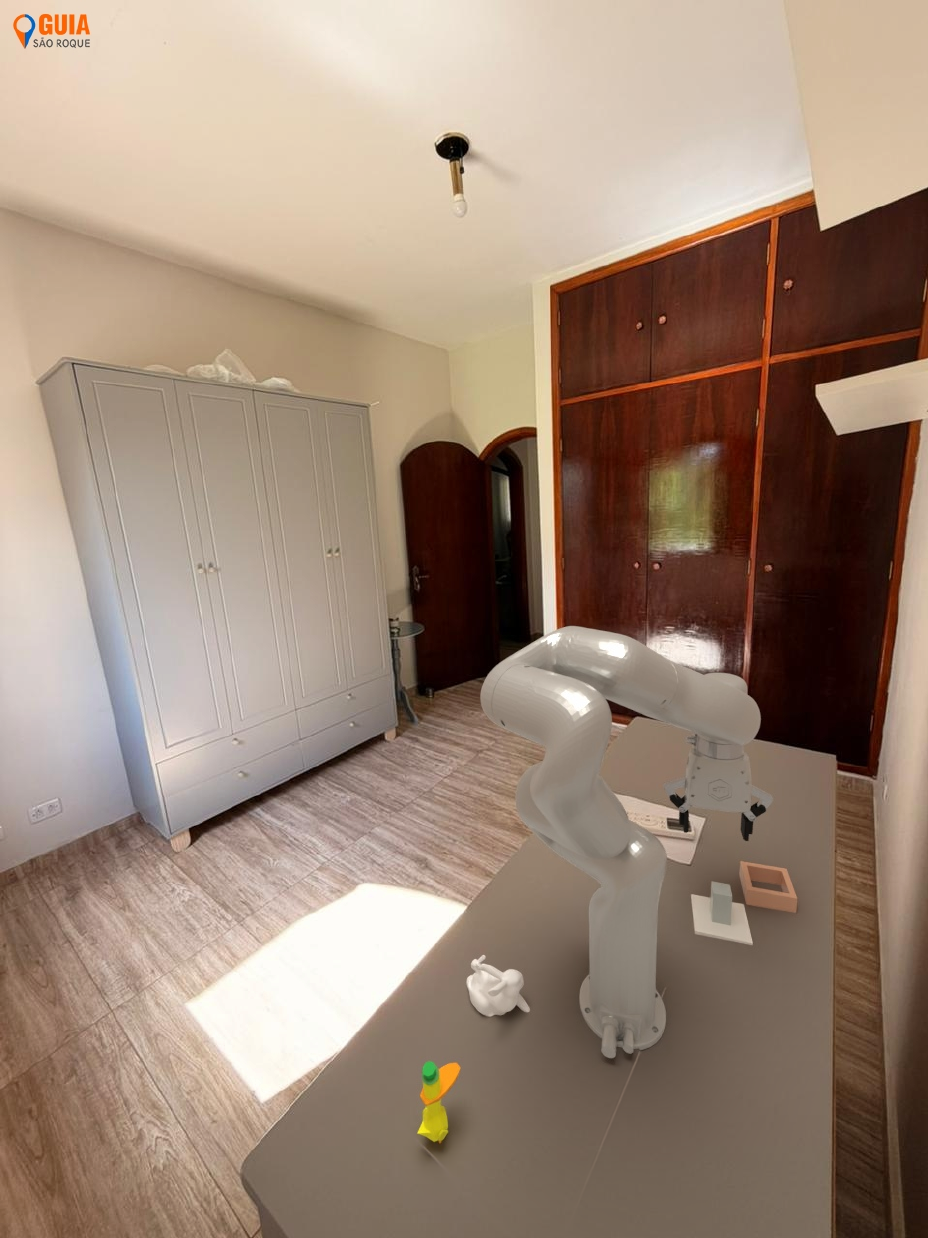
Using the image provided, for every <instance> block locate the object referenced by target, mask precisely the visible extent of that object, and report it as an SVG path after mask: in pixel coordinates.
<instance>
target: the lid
mask: <svg viewBox="0 0 928 1238" xmlns="http://www.w3.org/2000/svg"><path fill="white" fill-rule="evenodd" d="M731 888H732V887H731V884H729V883H723V882H717V881H711V884H710V896H709V897H708V896H704V895H698V894H691V893H690V900H691V910H692V920H693V921H692V922H693V928H694V935H698V936H703V937H709V938H714V939H718V940H724V941H729V942H735V943H739V944H743V945H744V944H745V945H750V946H753V945H754V944H753V943H754V942H753V939H752V935H751V930H750V926H749V921H748V916H747V913H746V912H747V911H746V908H745V904H744V903H740V902H734V901H733V893H732V889H731Z"/></svg>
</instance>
